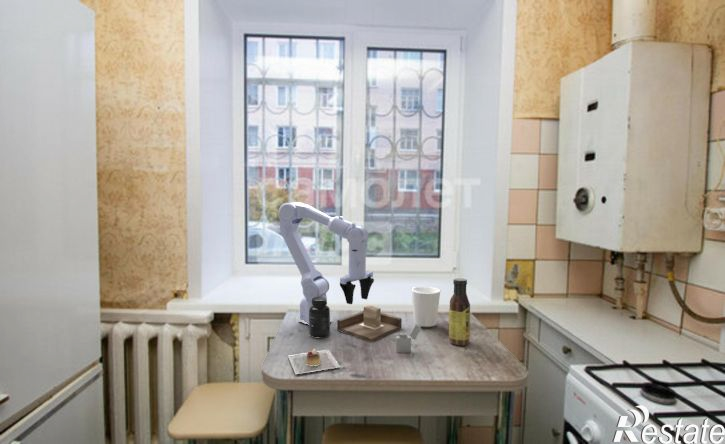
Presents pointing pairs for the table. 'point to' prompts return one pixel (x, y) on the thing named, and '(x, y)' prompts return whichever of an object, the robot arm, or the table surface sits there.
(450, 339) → the sauce bottle
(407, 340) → the lighter
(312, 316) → the supplement bottle
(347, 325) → the corner board
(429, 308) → the cup
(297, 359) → the table surface
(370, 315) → the maple block
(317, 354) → the dessert
